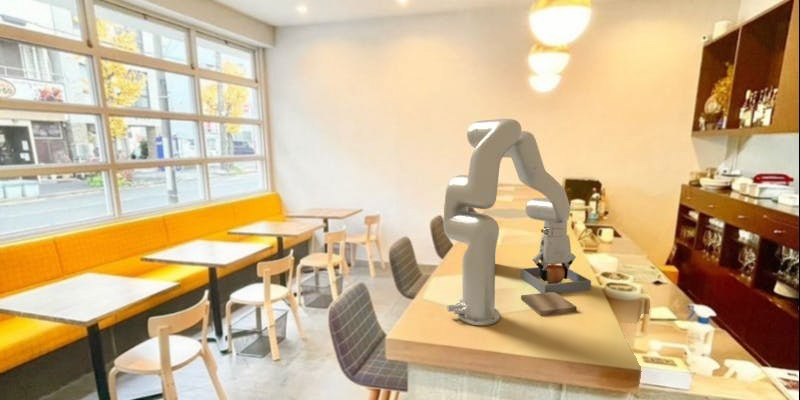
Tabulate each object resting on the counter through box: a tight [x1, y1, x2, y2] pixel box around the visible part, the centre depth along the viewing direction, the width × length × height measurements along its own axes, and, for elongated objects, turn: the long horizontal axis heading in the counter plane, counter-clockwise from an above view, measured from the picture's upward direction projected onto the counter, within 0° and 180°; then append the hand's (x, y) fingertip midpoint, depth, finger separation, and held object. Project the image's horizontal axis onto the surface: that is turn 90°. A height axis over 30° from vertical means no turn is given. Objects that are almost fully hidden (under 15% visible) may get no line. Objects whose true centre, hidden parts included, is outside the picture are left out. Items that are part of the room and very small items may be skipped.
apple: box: [545, 264, 565, 284], centre depth 138 cm, size 7×7×8 cm
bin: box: [520, 264, 592, 295], centre depth 138 cm, size 17×17×4 cm
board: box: [520, 292, 577, 317], centre depth 121 cm, size 12×12×2 cm
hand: (553, 278), depth 138 cm, fingers closed on apple, 7 cm apart
